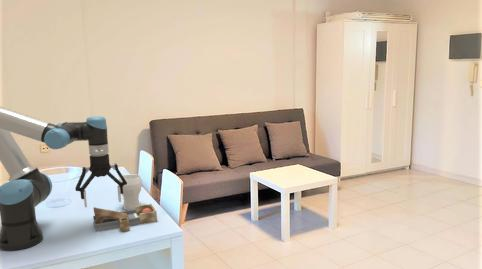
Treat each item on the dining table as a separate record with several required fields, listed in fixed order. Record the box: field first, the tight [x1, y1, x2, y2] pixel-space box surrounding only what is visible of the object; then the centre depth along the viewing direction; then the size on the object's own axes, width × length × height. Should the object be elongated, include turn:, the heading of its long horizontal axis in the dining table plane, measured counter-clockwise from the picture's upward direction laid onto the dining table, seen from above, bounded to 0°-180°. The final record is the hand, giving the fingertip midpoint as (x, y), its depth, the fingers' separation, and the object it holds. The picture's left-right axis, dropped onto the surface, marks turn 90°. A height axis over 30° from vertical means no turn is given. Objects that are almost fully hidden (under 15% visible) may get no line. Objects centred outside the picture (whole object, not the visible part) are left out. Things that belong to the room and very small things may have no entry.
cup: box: [118, 173, 143, 211], centre depth 189 cm, size 11×11×15 cm
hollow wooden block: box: [119, 217, 131, 233], centre depth 164 cm, size 3×3×5 cm
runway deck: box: [92, 209, 142, 233], centre depth 171 cm, size 18×11×3 cm, turn 114°
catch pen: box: [136, 203, 158, 225], centre depth 176 cm, size 7×11×4 cm, turn 24°
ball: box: [142, 208, 152, 213], centre depth 176 cm, size 4×4×4 cm
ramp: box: [93, 207, 129, 224], centre depth 170 cm, size 14×8×6 cm, turn 114°
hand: (103, 203), depth 168 cm, fingers open, 13 cm apart
